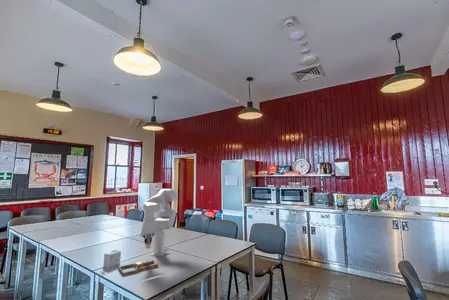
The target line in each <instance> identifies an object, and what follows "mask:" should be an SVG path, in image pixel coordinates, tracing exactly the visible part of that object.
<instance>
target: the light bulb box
mask: <svg viewBox="0 0 449 300" xmlns="http://www.w3.org/2000/svg"><path fill="white" fill-rule="evenodd" d="M121 253H122V251H121V250H118V249H114V250H112V251H108V252H105V253H103V254H104V255H103V266H102V267H103V268H108V269H111V268H113V267H115V266H117V265H120V264H121V256H122V255H121Z"/></svg>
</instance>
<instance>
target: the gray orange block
mask: <svg viewBox="0 0 449 300" xmlns="http://www.w3.org/2000/svg"><path fill="white" fill-rule="evenodd" d="M150 238H151V234H148V235H147V244H145V243H144V248H145V249H151V244H152V243H150Z"/></svg>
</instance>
